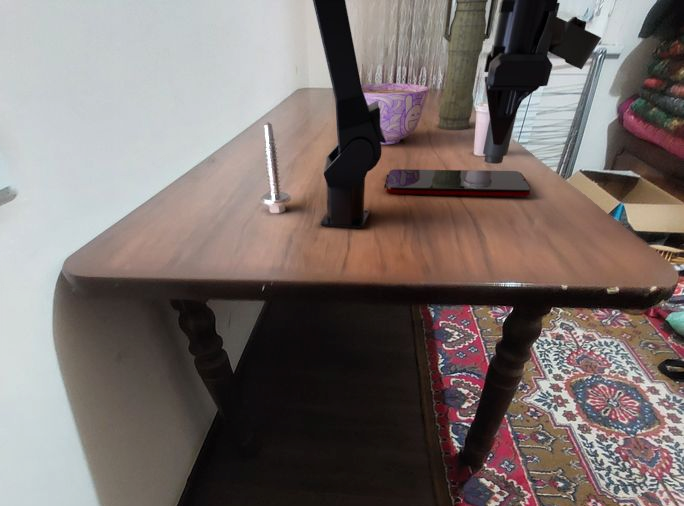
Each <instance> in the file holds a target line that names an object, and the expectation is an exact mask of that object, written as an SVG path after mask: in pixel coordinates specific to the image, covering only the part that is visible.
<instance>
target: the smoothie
mask: <svg viewBox="0 0 684 506" xmlns="http://www.w3.org/2000/svg"><path fill="white" fill-rule="evenodd" d="M474 110H475V111H476V113H475V114H476V115H475V129H474V131H475V132H474V143H473V155H474V156H476V157H477V156H478V157H485V154H483V150H484V145H485V140H486V135H487V130H488V125H489V120H490V115H489V108H488V102H481V103H476V105H475V109H474Z"/></svg>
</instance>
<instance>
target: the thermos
mask: <svg viewBox="0 0 684 506" xmlns="http://www.w3.org/2000/svg"><path fill="white" fill-rule="evenodd" d="M497 1H498V0H491V1H490V6H489V11H488V18H487V19H486V14H487V10H486V9H487V3H488V2H489V0H455V5H456V6H455V10H454V13H453V14H454V15H453V18H452V21H451V16H452V8H453V2H454V1H453V0H446V9H445V10H446V11H445V18H444V26H443V35H442V36H443V38H444V40H445V41H447V55H448V57H447V65H446V72H445V81H444V88H443V93H442V96H441V98H440V103H439V104H440V105H439V113H438V118H439V119H438V125H437V127H438V128H439V129H444V130H455V131H458V130H459V131H460V130H466V129H468V128H469V127H470V120H471V117H472V113H473V108H474V107H473V106H474V90H475V84H476V76H477V70H478V65H479V59H480V55H481V53H482V51H483V46H484V42H485V41H486V40H488V39H490V37H491V34H492V29H493V25H494V20H495V19H494V18H495V14H496V7H497Z"/></svg>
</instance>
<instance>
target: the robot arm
mask: <svg viewBox="0 0 684 506" xmlns="http://www.w3.org/2000/svg"><path fill="white" fill-rule="evenodd" d="M558 1H559V0H501V1H500V3H499V7H498V16H497V17H498V19H497V23H496V29H495V32H494V33H495V34H494V40H493V44H492V46H491V50H490V51H489V52H488V53H487V54H486V59H485V63H484V69H483V71H484V73H487V76H484V85H485V86H484V87H485V93H486V100H487V103H488V108H489V115H490V121H491V129H492V137H493V144H494V145H501V144H502V143H503V141H504V139H505V137H506V135H507V132H508V130H509V128H510V126H511V123H512V121H513V119H514V117H515V115H516V116H517V114H516V112H517V113H518V110H519V108H520V106H521V103H522V102H523V101H524V100H525V99H526V98H527V97H529V96H530V95H531V94H532V93H534V92H536V91H538V89H539V88H541V87H547V86H548V84H549V81H550V76H551V72H552V69H553V63H552V61H551V60H550V58H549V57H548V54H549V53H550V54H552V55H553V56H556V57H558V58H560V59H562V60H564V62H565V63H566V64H568V65H570V66H572V67H575V68H577V69H579V70H583V68H584V67H585V65H586V63H587V62H588V60H589V59H590V57H591V55H592V54H593V52H594V51H595V50H596V47H597V46H598V44H599V43H600V41H601V40H602V37H601V36H599V35H597V34H595V33H592V32H591V31H589V30H586V27H587V21H586V20H582V19H580V18H578V17H577V16H572V17H571V18H570V19H568V20H565V19H562V18H560V17H558V13H559V10H560V5H561V4H560V3H561V2H558ZM312 3H313V7H314V12H315V16H316V21H317V25H318V30H319V34H320V38H321V42H322V48H323V52H324V56H325V60H326V64H327V69H328V74H329V78H330V82H331V86H332V87H331V88H332V90H333V96H334V101H335V117H336V118H335V121H336V135H337V144H336V146H335V147H334V148H333V149H332V150H331V152H330V153H328V155H327V156H326V157H325V158H326V159H325V165H324V170H323V177H324V180H325V191H326V193H325V195H326V213H325V215H324V216H323V217H322V219H321V221H320V226H321V227H330V228H331V227H332V228H345V229H346V228H347V229H357V230H362V229H363V228H364V227H365V225H366V222H367V220H368V218H369V216H370V210H367V209H365V193H366V191H365V190H366V177H367V174H368V172H370V171H372V170H373V169H374V168H375V167H376V166H377V165H378V163H379V161H380V159H381V157H382V144H381V143H380V142H382V143H385V142H386V140H385V137H384V133H383V130H382V128H381V127H380V108H379V105H378V102H377V101H375V102H373V103H371V104H370V105H368V103H367V101H366V98H365V95H364V93H363V90H362V87H361V85H362V82H361V77H360V72H359V66H358V60H357V55H356V50H355V45H354V40H353V34H352V29H351V23H350V19H349V12H348V7H347V3H346V0H312Z"/></svg>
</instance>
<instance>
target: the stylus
mask: <svg viewBox="0 0 684 506" xmlns="http://www.w3.org/2000/svg"><path fill="white" fill-rule="evenodd" d="M517 114H518V111H517V112H516V115H515V117H514V119H513V121H512V123H511V126H510V128H509V130H508V132H507V135H506V137H505V139H504V141H503V143H502V144H501V145H494V144H493V137H492V129H491V121H490V120H489V125H488V130H487V135H486V140H485V145H484V150H483V154H485V156H484V160H483V161H484V162H485V163H487V164H493V165H496V164H497V165H498V164H502V163H503V160H504V157H505V156H507V155H508V153H509V147H510V143H511V140H512V136H513V131H514V127H515V122H516V119H517Z"/></svg>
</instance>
